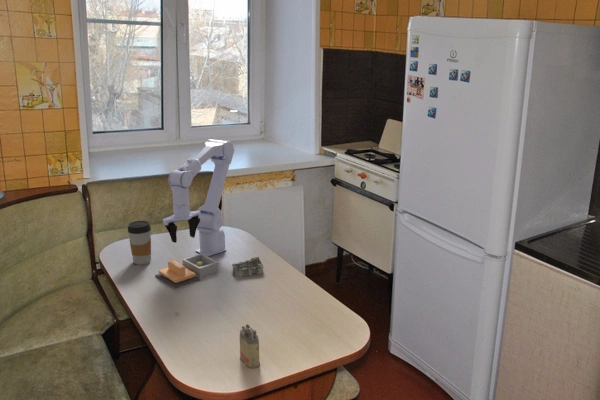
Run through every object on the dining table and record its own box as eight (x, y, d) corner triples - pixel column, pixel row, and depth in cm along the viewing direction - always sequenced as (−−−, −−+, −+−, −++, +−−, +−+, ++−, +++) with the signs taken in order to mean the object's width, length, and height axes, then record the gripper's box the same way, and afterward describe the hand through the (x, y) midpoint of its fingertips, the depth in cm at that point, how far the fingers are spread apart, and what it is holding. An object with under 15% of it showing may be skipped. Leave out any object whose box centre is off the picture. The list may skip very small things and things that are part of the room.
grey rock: (260, 266, 211) (260, 256, 209) (264, 274, 204) (264, 264, 202) (231, 269, 208) (231, 259, 207) (235, 278, 201) (234, 267, 200)
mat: (179, 268, 208) (179, 267, 208) (199, 279, 199) (199, 278, 199) (155, 276, 201) (155, 275, 201) (174, 288, 192) (174, 287, 192)
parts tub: (201, 262, 213) (201, 253, 212) (218, 271, 206) (218, 262, 205) (183, 268, 208) (182, 259, 207) (200, 277, 201) (199, 268, 200)
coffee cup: (150, 266, 210) (147, 228, 205) (127, 266, 210) (123, 227, 205) (156, 257, 218) (153, 220, 213) (134, 257, 218) (131, 220, 213)
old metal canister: (237, 356, 154) (236, 323, 150) (250, 352, 156) (249, 319, 152) (250, 369, 148) (249, 335, 145) (263, 365, 150) (262, 331, 147)
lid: (178, 268, 207) (177, 256, 205) (195, 278, 199) (194, 265, 197) (159, 275, 201) (158, 262, 200) (175, 285, 194) (174, 272, 192)
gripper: (169, 210, 196) (171, 247, 200) (204, 201, 205) (206, 237, 209) (158, 205, 201) (161, 241, 205) (193, 197, 210) (195, 232, 214)
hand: (183, 239), depth 207 cm, fingers open, 7 cm apart
